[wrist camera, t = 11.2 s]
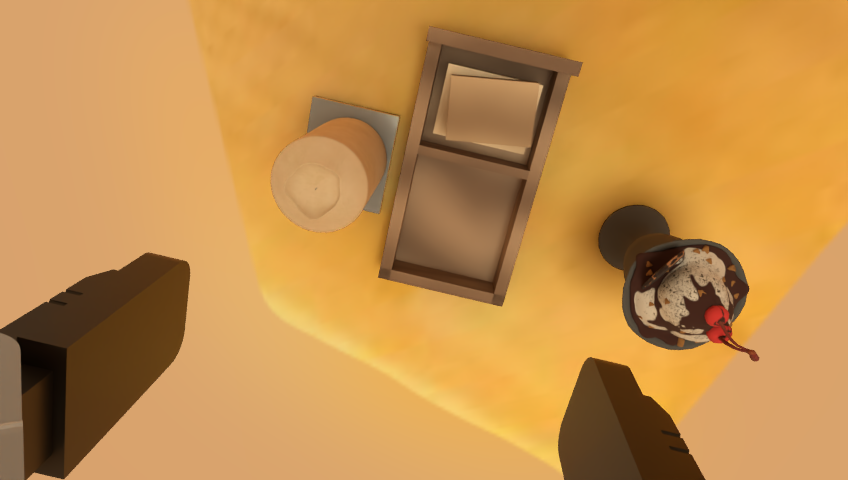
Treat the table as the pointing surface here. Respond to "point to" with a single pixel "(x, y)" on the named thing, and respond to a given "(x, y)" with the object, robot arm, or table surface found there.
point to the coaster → (377, 120)
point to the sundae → (673, 281)
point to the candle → (329, 174)
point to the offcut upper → (492, 110)
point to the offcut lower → (444, 101)
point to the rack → (469, 178)
